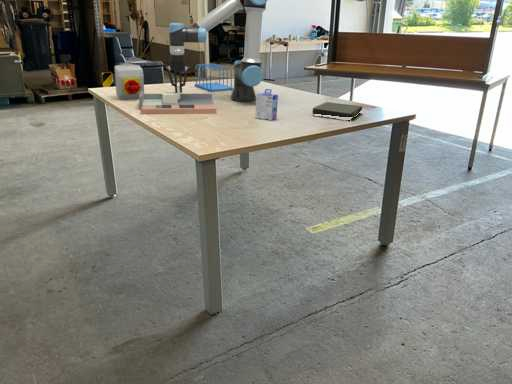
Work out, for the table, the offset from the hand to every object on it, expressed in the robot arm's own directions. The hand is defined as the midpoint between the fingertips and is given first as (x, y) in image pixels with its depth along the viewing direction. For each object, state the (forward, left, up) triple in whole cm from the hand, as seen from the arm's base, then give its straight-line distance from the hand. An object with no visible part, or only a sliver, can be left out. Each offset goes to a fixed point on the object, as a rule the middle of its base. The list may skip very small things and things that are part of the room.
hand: (178, 98), depth 239 cm
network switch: (-83, +27, -5) cm, 87 cm away
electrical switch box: (+28, -22, -4) cm, 36 cm away
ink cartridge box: (-43, +33, -4) cm, 54 cm away
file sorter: (-24, -61, -5) cm, 66 cm away
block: (+5, 0, -2) cm, 5 cm away
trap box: (0, +6, -4) cm, 7 cm away
